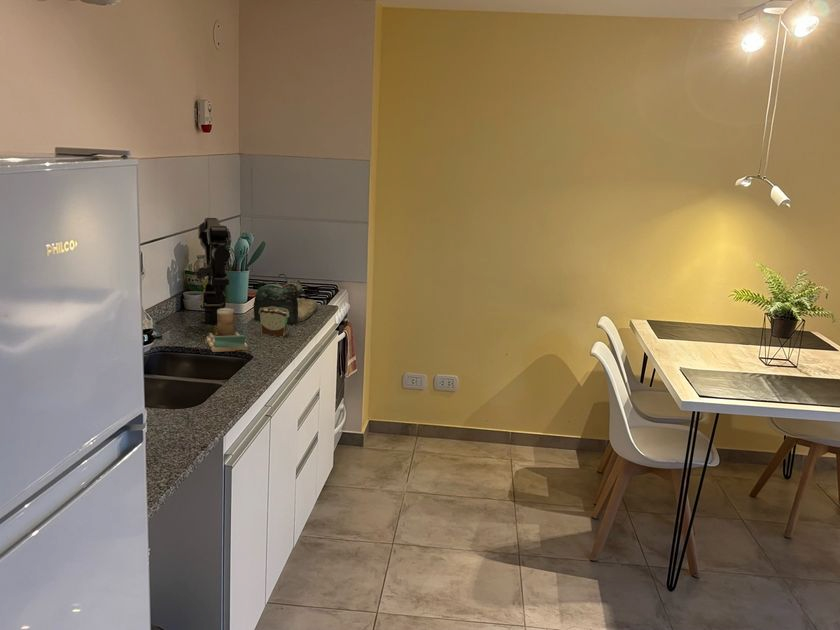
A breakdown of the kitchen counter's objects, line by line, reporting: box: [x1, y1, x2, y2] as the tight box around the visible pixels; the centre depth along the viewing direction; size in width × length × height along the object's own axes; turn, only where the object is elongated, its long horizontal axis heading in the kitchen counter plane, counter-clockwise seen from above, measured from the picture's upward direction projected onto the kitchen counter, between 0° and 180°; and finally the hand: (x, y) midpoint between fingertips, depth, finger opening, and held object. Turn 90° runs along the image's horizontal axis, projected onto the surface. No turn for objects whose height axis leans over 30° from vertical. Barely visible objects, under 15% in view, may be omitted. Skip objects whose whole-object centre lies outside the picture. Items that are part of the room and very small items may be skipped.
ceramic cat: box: [252, 273, 304, 325], centre depth 311 cm, size 20×6×20 cm, turn 76°
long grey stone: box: [297, 297, 318, 323], centre depth 331 cm, size 35×5×10 cm
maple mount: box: [206, 331, 249, 353], centre depth 274 cm, size 16×12×5 cm
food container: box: [258, 306, 289, 338], centre depth 292 cm, size 12×6×10 cm, turn 71°
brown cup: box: [215, 307, 235, 336], centre depth 275 cm, size 6×6×10 cm
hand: (218, 300), depth 291 cm, fingers closed
